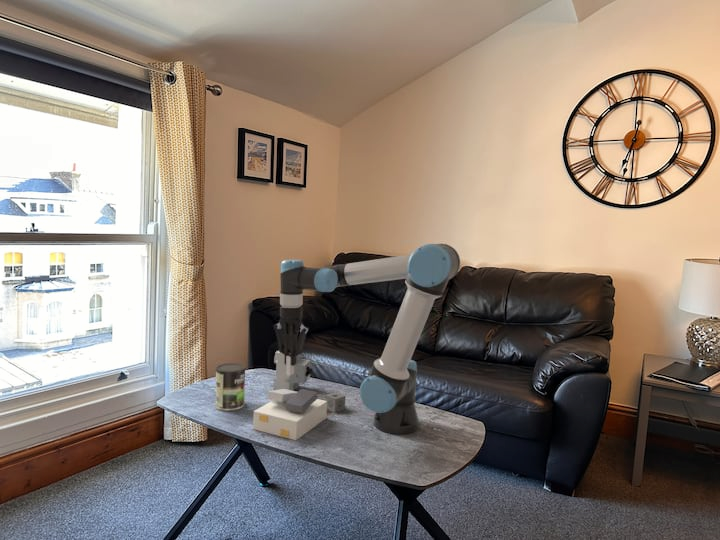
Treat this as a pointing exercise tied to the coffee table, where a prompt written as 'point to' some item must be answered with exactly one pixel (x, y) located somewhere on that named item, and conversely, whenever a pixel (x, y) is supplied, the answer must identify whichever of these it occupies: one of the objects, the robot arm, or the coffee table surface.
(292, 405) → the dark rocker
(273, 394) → the block
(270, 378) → the coffee table surface
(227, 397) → the coffee can
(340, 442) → the coffee table surface
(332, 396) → the dice cube
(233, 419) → the coffee table surface
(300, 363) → the circuit breaker
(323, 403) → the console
